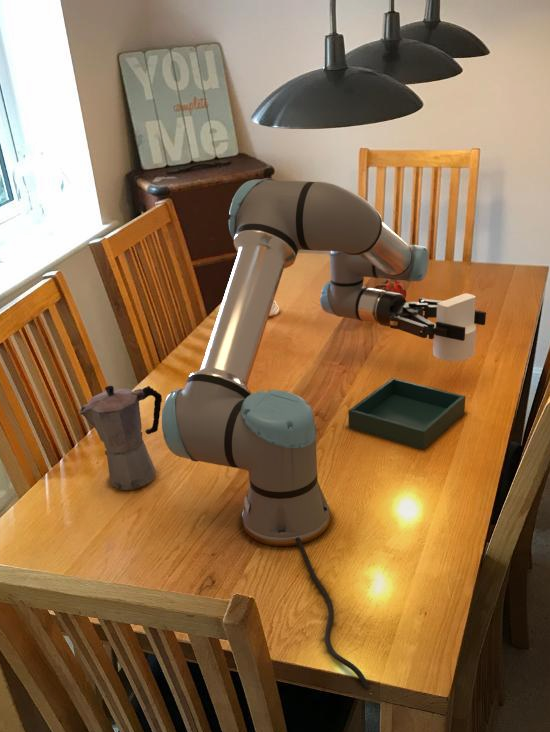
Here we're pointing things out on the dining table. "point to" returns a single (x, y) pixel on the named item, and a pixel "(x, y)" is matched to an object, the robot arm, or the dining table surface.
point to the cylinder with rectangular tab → (457, 314)
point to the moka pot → (123, 434)
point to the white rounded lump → (274, 309)
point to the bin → (407, 413)
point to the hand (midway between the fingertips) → (474, 326)
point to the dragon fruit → (392, 287)
